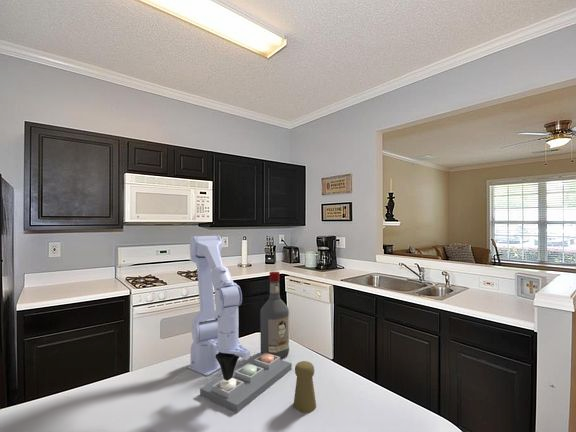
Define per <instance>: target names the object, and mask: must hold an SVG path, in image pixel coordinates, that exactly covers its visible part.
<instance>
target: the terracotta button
mask: <svg viewBox="0 0 576 432" xmlns="http://www.w3.org/2000/svg"><path fill="white" fill-rule="evenodd" d="M261 361H262V362H265V363H268V364H269V363H271V362H272V361H274V356H273V355H272V354H264V355H262V356H261Z"/></svg>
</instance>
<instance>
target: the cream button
mask: <svg viewBox="0 0 576 432" xmlns="http://www.w3.org/2000/svg"><path fill="white" fill-rule="evenodd" d="M234 387H236V380H235V379H233V378H231V379H230V380H228V381H227V380H222V381H221V382H220V388H221V389H224V390H226V391H230V390H231V389H233V388H234Z"/></svg>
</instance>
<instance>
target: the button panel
mask: <svg viewBox="0 0 576 432" xmlns="http://www.w3.org/2000/svg"><path fill="white" fill-rule="evenodd" d="M264 354H268V353H264ZM264 354H261V352H258V353H256V354H254V355H253V356H250V358H249V359H247V360H244V361H243V362H241V363H239V364H238V365H235V369H234V373H233V377H232V378H233V379H235V380H236V387H234V388H233V389H231V390H230V391H226V390H224V389H221V388H220V382H221V381H222V380H224V377H223V374H221V375H220V376H218V377H216V378H214V379H213V380H211V381H210V382H208V383H206V384H205V385H203V386H202V387H200V388H199V396H201V397H203V398H204V399H207V400H209V401H211V402H213V403H215V404H217V405H220V407H224V408H225V409H228V410H230V411H232V412H233V413H236V414H238V413H239V412H240V411H242V410H243V409H244V408H245V407H246V406H247V407H248V405H249V404H250V403H252V402H253V401H254V400H255V399H256V398H258V397H259V396H260V395H262V394H263V393H264V392H265V391H267V390H268V389H269V388H270V387H272V386H273V385H274V384H276V382H278V381H280V379H281V378H283V377H284V376H285V375H287V373H289V372H290V371H291V370H292V367H293V366H292V365H293V364H292V363H291V362H288V361H285V360H282V359H280V357H278V356H275V355H273V356H274V361H272V362H271V363H269V364H268V363H265V362H262V361H261V356H262V355H264ZM247 365H254V366H256V367H257V372H256V373H255V374H253V375H252V376H248V375H245V374H243V373H242V368H243V367H244V366H247Z"/></svg>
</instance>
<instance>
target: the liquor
mask: <svg viewBox="0 0 576 432" xmlns="http://www.w3.org/2000/svg"><path fill="white" fill-rule="evenodd" d="M280 279H281V277H280V272H279V271H270V272H269V296H268V298H269V299H267V301H266V302H264V304H263V306H261V309H260V310H259V311H260V312H259V313H260V314H259V315H260V323H259V324H260V329H259V330H260V354H264V353H268V354H272V355H275V356H278V357H280V360H282V359H284V358H286V357H288V356H289V354H290V353H289V352H290V308H289V306H288V305H287V304H286V303H285V302H284V301H283V300H282V299H281V295H280Z"/></svg>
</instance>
